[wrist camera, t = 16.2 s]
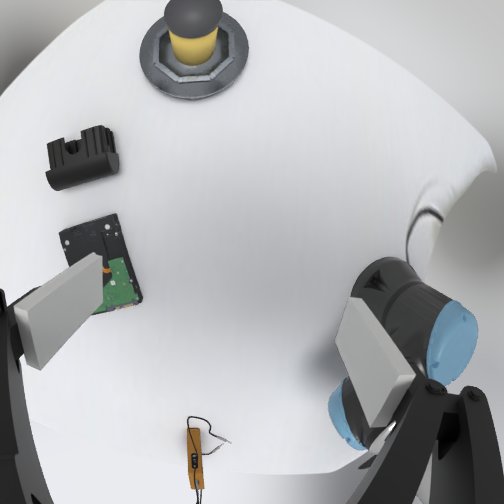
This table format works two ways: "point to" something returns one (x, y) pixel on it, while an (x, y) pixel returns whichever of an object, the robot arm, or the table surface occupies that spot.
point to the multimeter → (196, 458)
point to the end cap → (82, 158)
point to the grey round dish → (194, 77)
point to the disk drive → (105, 260)
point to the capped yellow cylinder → (193, 29)
